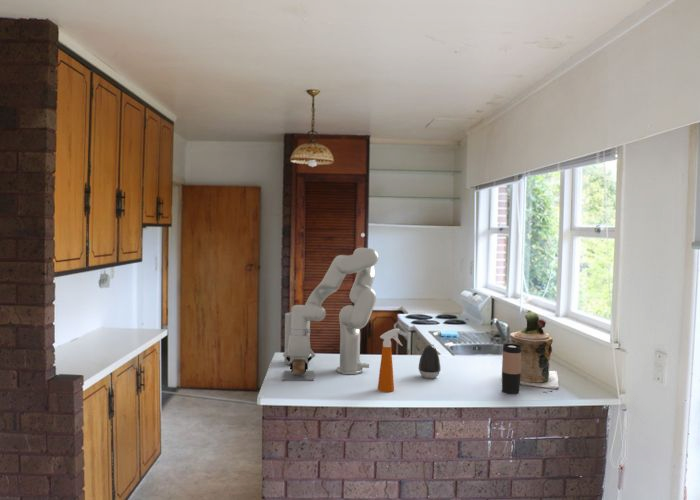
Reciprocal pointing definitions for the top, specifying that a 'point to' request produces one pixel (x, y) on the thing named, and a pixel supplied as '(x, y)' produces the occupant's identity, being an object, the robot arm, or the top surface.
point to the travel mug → (511, 368)
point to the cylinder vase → (287, 334)
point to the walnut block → (298, 366)
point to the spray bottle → (387, 362)
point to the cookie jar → (535, 353)
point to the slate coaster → (298, 376)
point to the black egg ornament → (429, 362)
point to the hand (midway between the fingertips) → (298, 370)
